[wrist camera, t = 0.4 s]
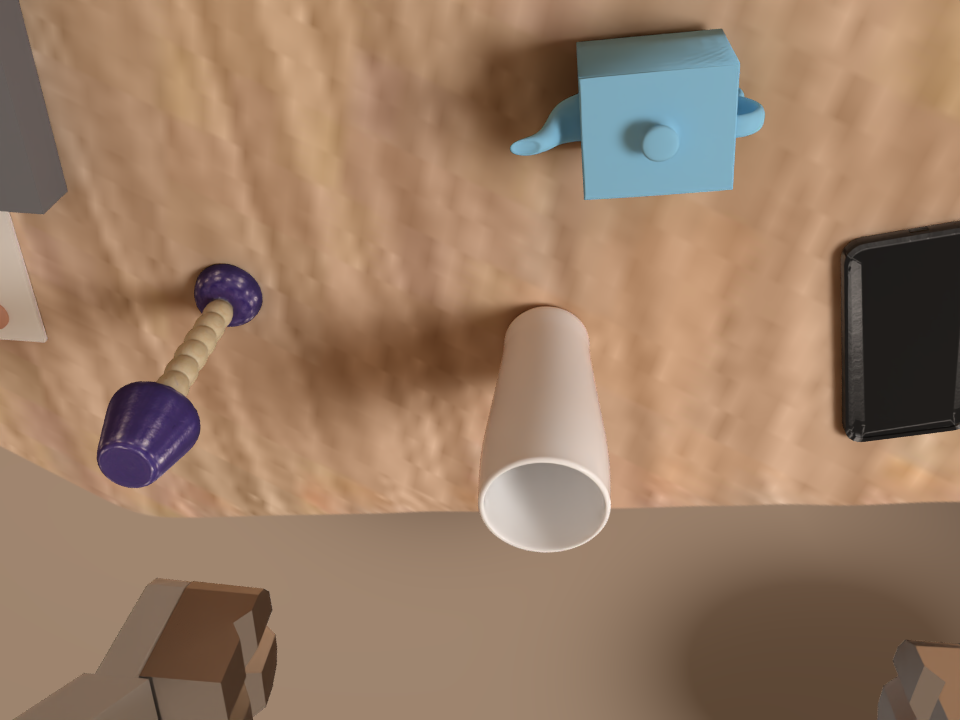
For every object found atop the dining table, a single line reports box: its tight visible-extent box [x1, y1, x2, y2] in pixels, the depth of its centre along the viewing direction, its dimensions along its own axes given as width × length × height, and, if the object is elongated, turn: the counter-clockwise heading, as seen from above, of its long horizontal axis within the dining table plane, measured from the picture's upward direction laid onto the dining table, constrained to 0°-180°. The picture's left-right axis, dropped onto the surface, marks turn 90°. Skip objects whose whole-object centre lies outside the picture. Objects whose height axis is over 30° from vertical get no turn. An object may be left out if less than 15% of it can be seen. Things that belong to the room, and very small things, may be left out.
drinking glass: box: [478, 306, 611, 552], centre depth 50 cm, size 7×7×15 cm
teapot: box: [510, 29, 765, 200], centre depth 44 cm, size 12×6×8 cm, turn 96°
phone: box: [841, 221, 960, 442], centre depth 54 cm, size 8×1×15 cm
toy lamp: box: [97, 264, 262, 488], centre depth 49 cm, size 5×5×17 cm
